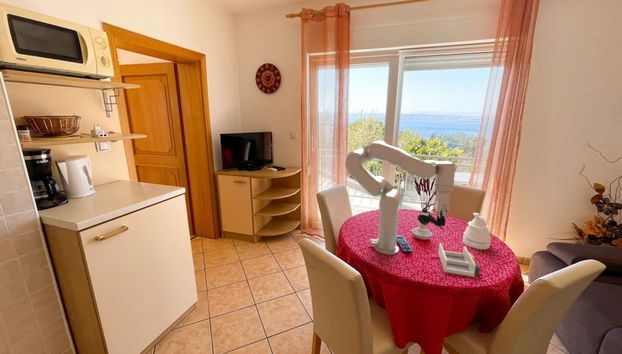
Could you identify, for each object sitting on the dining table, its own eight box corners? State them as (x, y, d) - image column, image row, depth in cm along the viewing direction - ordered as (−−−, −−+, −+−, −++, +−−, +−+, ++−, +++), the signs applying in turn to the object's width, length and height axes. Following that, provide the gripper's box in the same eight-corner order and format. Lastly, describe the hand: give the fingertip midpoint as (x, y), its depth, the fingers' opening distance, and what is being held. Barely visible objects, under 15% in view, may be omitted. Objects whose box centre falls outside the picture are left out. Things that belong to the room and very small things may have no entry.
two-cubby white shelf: (444, 272, 114) (446, 260, 113) (438, 253, 130) (439, 243, 129) (473, 277, 110) (475, 264, 109) (463, 257, 127) (465, 246, 125)
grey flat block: (475, 275, 112) (477, 267, 111) (472, 269, 116) (473, 261, 116) (478, 275, 111) (480, 267, 111) (475, 269, 116) (476, 262, 115)
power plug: (442, 231, 117) (422, 213, 120) (431, 239, 122) (412, 221, 125) (446, 225, 121) (426, 208, 124) (435, 233, 126) (416, 216, 129)
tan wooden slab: (470, 265, 120) (471, 257, 119) (467, 260, 124) (468, 252, 124) (473, 265, 119) (474, 258, 119) (470, 260, 124) (471, 253, 123)
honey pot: (463, 246, 139) (467, 215, 135) (462, 237, 150) (465, 209, 146) (491, 251, 133) (496, 220, 129) (487, 241, 144) (492, 212, 140)
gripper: (433, 183, 125) (430, 218, 128) (437, 191, 110) (434, 230, 114) (449, 184, 122) (446, 219, 126) (456, 192, 108) (452, 232, 111)
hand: (440, 224), depth 120 cm, fingers closed on power plug, 2 cm apart
